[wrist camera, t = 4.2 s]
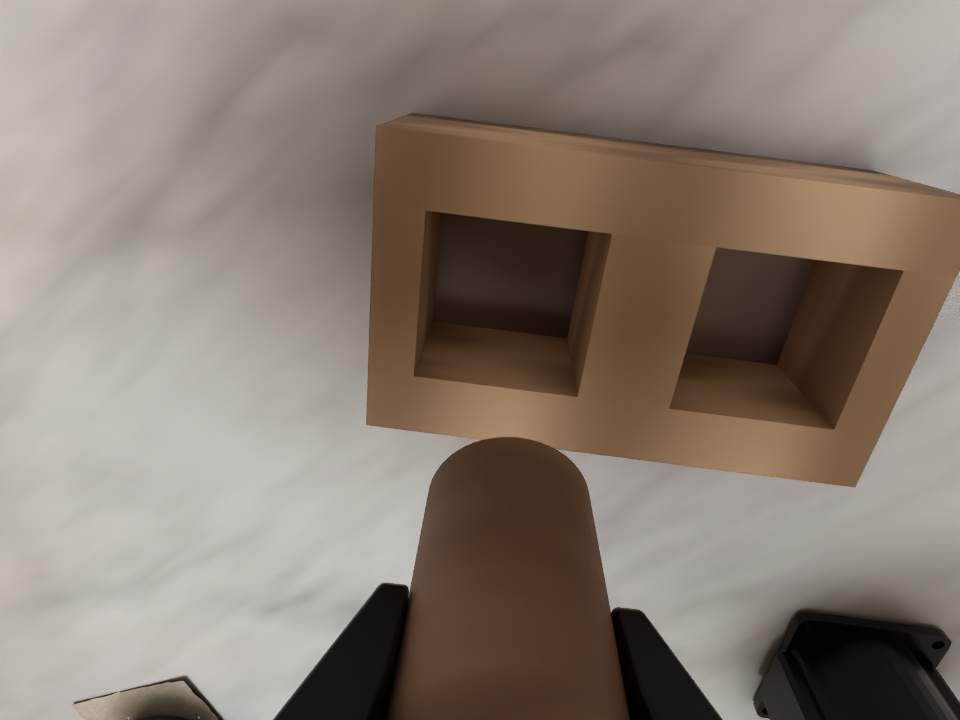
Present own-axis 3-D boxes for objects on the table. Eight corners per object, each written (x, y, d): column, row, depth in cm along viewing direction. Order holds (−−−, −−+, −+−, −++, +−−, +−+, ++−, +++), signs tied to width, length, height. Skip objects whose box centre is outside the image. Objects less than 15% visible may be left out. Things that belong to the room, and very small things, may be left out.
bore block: (873, 170, 18) (991, 203, 13) (784, 400, 21) (854, 487, 17) (412, 113, 18) (376, 126, 14) (398, 351, 22) (366, 424, 17)
